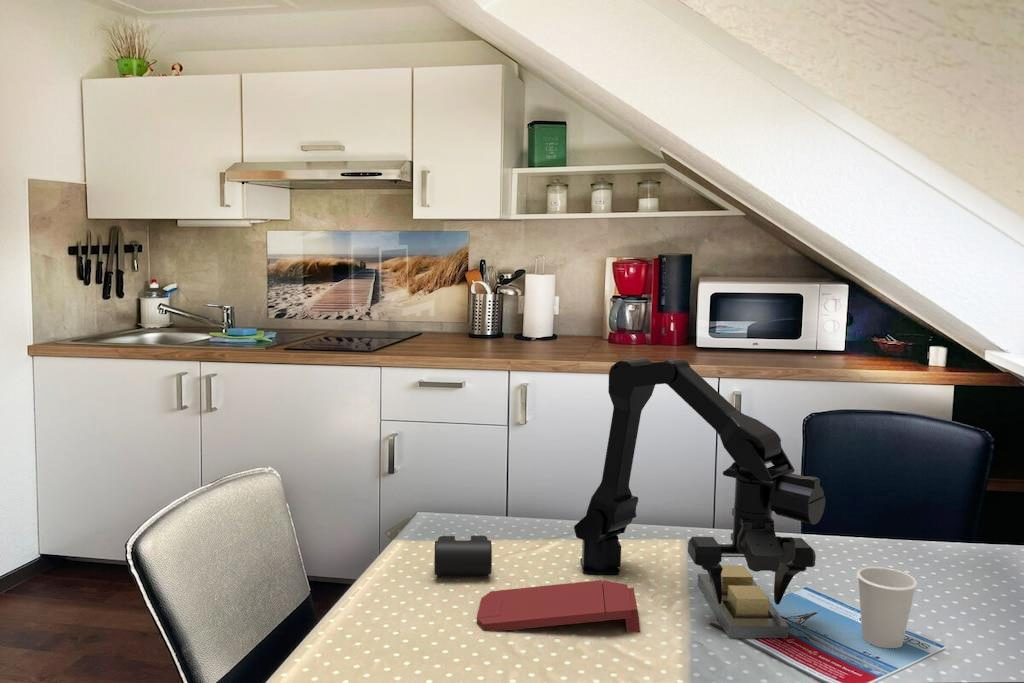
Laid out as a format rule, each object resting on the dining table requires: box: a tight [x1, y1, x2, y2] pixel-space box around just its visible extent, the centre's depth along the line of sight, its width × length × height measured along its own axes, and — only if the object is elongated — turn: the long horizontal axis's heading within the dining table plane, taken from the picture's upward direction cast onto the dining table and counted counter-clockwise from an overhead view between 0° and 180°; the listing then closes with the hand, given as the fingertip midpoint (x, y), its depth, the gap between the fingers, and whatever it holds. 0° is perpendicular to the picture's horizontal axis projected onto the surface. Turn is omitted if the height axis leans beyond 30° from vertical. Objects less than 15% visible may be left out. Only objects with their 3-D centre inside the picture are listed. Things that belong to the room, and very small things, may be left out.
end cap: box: [433, 534, 493, 578], centre depth 147 cm, size 10×7×7 cm
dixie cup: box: [856, 566, 918, 650], centre depth 125 cm, size 8×8×10 cm
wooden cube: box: [727, 585, 770, 619], centre depth 131 cm, size 5×5×5 cm
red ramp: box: [476, 579, 641, 633], centre depth 132 cm, size 12×5×25 cm
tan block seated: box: [720, 564, 754, 595], centre depth 139 cm, size 5×5×5 cm
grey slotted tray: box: [697, 573, 789, 640], centre depth 135 cm, size 9×20×2 cm, turn 1°
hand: (747, 603), depth 131 cm, fingers open, 9 cm apart
